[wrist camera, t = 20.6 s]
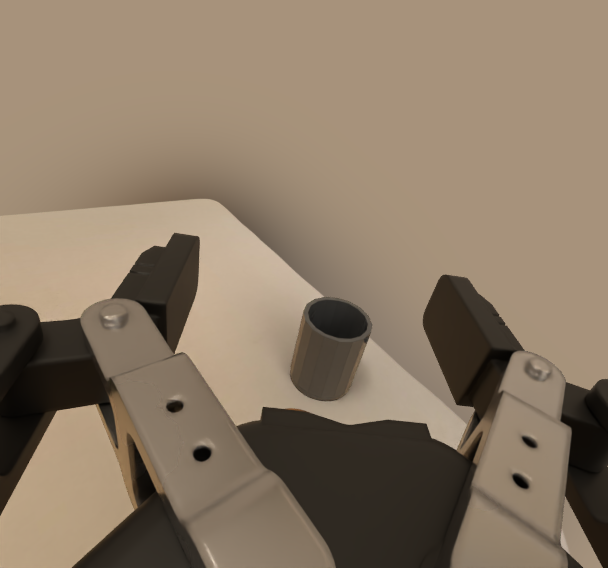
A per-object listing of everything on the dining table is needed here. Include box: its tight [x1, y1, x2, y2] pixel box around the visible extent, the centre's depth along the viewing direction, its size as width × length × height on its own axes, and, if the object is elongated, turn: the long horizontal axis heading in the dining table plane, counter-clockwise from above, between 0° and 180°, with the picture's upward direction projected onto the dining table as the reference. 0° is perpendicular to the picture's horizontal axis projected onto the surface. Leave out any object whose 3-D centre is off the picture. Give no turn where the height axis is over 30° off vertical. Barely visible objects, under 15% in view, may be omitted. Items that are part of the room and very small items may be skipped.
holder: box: [290, 297, 372, 401], centre depth 43 cm, size 7×7×9 cm
